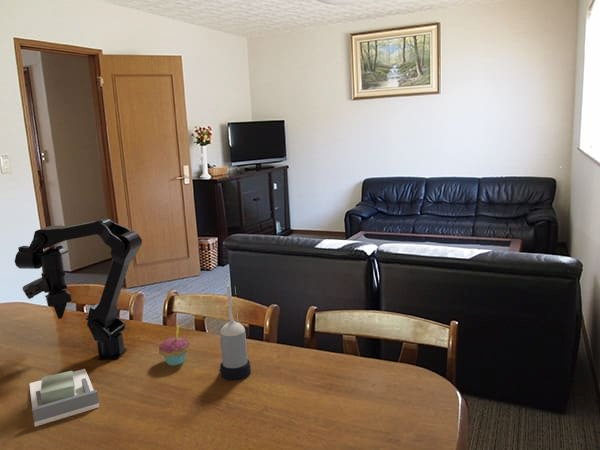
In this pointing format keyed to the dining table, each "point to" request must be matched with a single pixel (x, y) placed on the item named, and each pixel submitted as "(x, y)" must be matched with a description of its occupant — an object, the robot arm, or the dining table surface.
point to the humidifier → (233, 348)
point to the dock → (64, 400)
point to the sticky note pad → (57, 387)
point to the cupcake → (174, 349)
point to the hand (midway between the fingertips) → (60, 318)
